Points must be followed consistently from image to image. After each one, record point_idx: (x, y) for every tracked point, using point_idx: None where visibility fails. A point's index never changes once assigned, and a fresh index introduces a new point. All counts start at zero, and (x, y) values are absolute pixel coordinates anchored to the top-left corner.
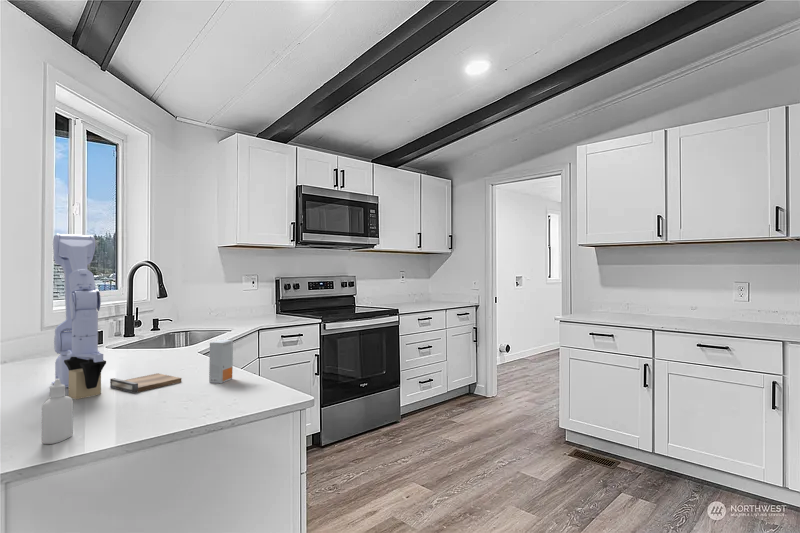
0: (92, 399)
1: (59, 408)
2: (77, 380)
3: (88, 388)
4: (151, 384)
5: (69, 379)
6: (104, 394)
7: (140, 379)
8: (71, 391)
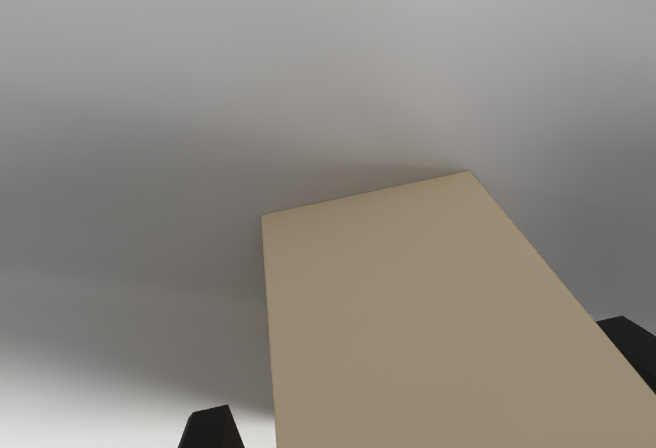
0: (106, 341)
1: None
2: (281, 443)
3: (187, 422)
4: None
5: (578, 351)
6: (263, 444)
7: None
8: (415, 235)
